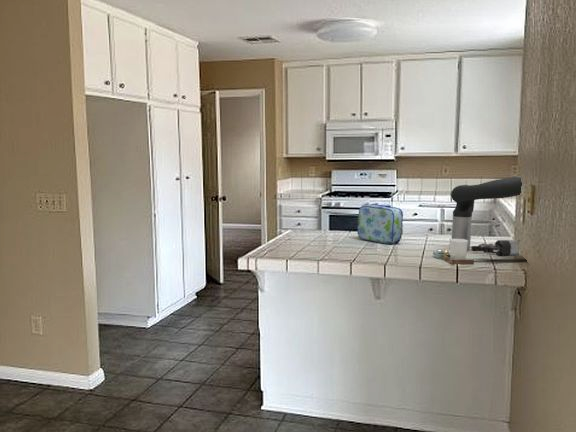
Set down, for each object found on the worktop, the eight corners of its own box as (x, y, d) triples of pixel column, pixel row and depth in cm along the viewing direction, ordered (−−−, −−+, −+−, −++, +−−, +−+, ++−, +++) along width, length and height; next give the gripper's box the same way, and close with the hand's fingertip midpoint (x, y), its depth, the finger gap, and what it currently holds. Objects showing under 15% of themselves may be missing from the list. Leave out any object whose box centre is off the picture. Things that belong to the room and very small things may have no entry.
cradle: (441, 259, 244) (441, 254, 244) (461, 258, 246) (462, 254, 245) (452, 264, 233) (452, 260, 232) (473, 264, 234) (474, 259, 234)
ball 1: (435, 255, 250) (434, 249, 249) (441, 253, 250) (440, 247, 249) (438, 257, 247) (437, 251, 246) (444, 255, 247) (443, 249, 247)
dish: (432, 256, 251) (432, 251, 250) (446, 256, 252) (446, 251, 251) (438, 259, 244) (438, 254, 244) (452, 259, 245) (452, 254, 244)
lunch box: (404, 243, 284) (406, 205, 281) (392, 246, 277) (394, 206, 274) (367, 237, 303) (368, 201, 300) (355, 239, 296) (356, 202, 293)
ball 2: (441, 255, 248) (441, 249, 248) (447, 256, 248) (447, 249, 248) (444, 256, 245) (444, 250, 245) (449, 257, 245) (450, 250, 245)
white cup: (464, 260, 243) (465, 238, 242) (468, 263, 235) (470, 241, 234) (447, 259, 244) (448, 238, 242) (451, 263, 236) (452, 241, 235)
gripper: (500, 237, 247) (465, 238, 245) (515, 242, 234) (479, 243, 232) (499, 253, 248) (465, 253, 246) (514, 259, 235) (478, 259, 233)
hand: (472, 248), depth 239 cm, fingers closed
